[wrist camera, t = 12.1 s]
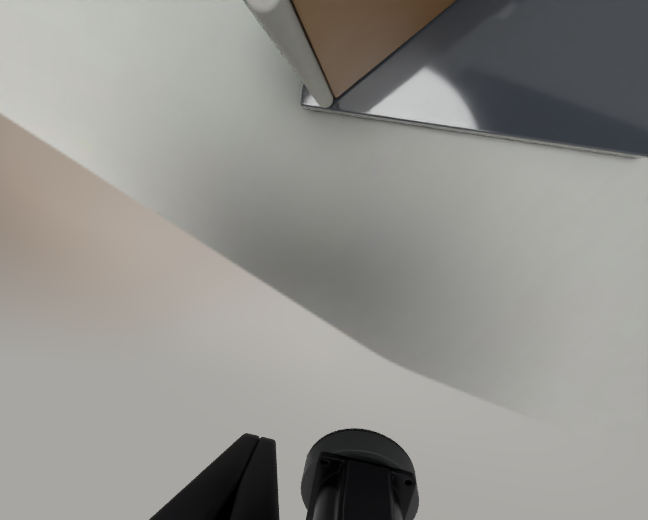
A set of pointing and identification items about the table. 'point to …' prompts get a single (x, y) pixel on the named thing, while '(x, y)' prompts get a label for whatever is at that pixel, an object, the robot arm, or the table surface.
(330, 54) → the brown hinged door
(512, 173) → the table surface
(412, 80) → the shower stall
